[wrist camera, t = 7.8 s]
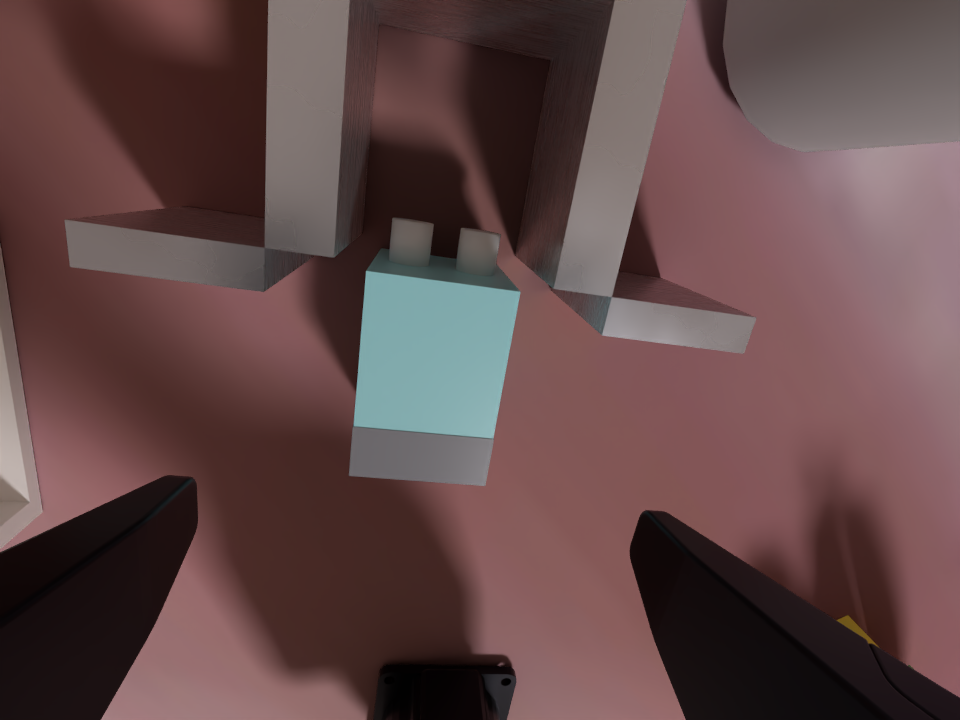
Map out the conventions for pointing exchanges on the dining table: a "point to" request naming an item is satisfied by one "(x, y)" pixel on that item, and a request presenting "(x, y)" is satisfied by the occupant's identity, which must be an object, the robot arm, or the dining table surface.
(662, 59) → the bracket
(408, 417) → the plug
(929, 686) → the robot arm
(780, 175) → the dining table surface
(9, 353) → the white flat channel piece
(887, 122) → the can
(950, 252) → the dining table surface
